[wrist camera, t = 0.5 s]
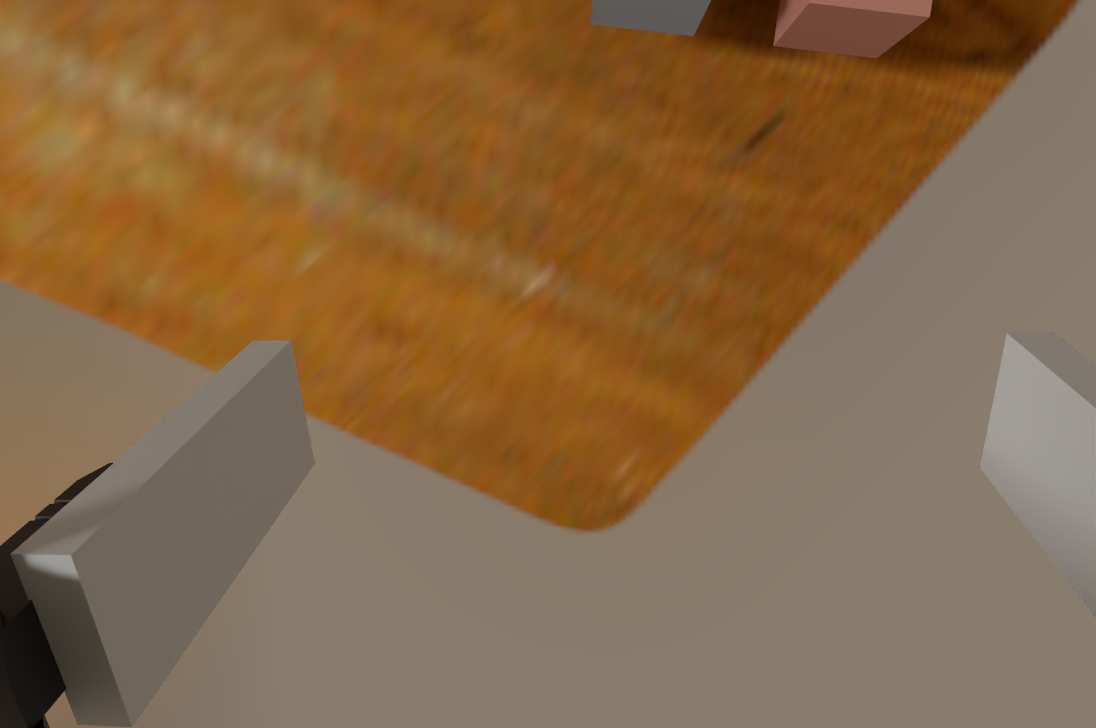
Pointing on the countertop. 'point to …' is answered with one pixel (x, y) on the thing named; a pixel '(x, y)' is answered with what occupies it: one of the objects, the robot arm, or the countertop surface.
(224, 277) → the countertop surface
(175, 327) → the countertop surface
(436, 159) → the countertop surface
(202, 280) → the countertop surface
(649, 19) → the slate key
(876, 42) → the brick key
